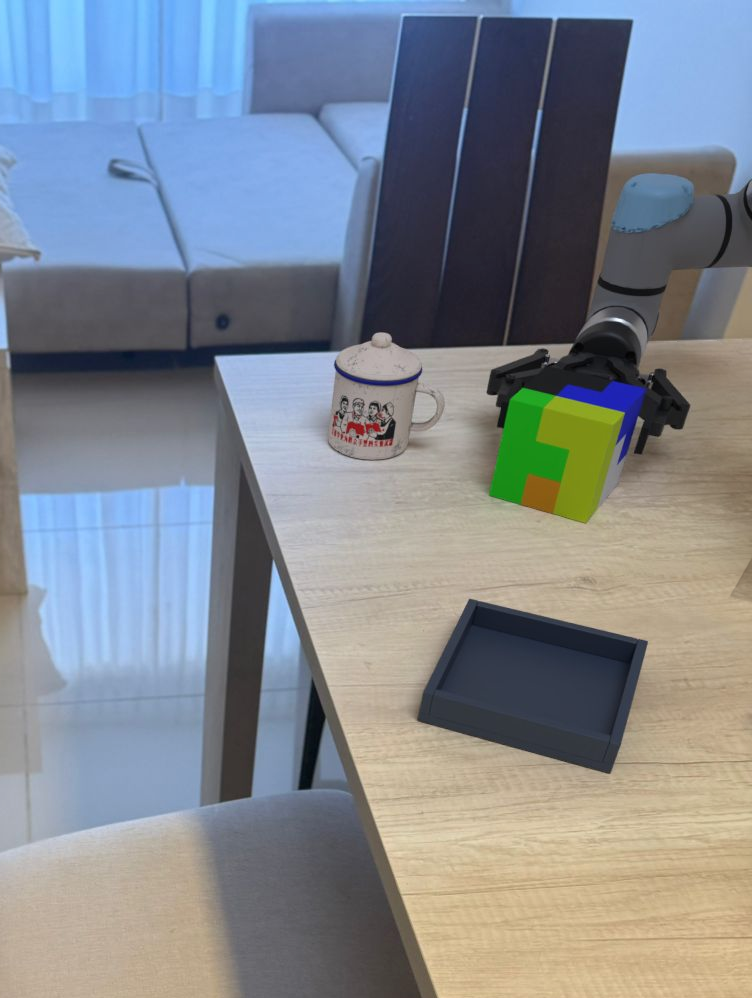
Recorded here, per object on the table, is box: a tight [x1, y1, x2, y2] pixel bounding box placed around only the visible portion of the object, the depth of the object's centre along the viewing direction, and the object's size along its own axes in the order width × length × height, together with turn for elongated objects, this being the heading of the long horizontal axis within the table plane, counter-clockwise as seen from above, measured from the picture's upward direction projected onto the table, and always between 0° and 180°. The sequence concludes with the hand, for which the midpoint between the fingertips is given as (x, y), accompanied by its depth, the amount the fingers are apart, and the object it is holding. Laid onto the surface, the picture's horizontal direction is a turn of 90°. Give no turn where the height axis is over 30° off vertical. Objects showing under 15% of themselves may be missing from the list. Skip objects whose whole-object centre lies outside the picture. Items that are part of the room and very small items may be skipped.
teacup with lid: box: [327, 332, 446, 461], centre depth 121 cm, size 12×9×12 cm
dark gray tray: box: [417, 598, 649, 775], centre depth 91 cm, size 15×15×3 cm
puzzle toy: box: [488, 366, 646, 524], centre depth 114 cm, size 10×10×10 cm
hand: (571, 428), depth 115 cm, fingers open, 13 cm apart
